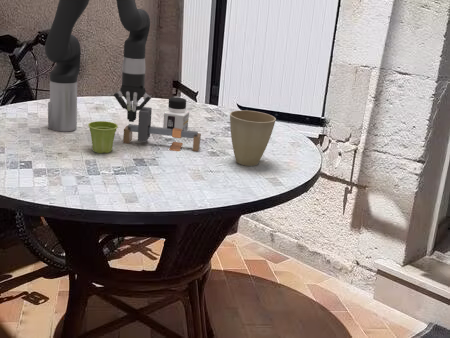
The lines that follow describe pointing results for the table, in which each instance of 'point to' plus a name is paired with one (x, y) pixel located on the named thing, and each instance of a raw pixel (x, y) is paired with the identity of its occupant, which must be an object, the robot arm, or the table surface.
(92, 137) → the plant pot
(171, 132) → the rail
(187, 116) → the container
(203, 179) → the table surface
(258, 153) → the plant pot
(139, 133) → the collar
